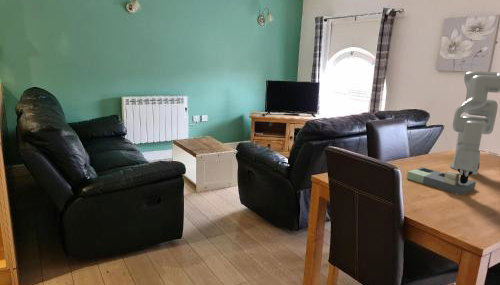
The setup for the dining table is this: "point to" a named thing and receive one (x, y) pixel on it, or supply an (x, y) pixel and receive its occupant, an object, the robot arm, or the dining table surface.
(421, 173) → the board
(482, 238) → the dining table surface
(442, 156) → the dining table surface
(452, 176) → the maple block
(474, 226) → the dining table surface
